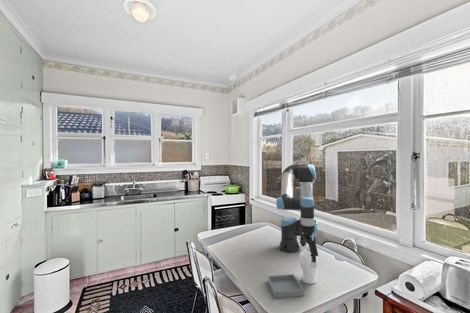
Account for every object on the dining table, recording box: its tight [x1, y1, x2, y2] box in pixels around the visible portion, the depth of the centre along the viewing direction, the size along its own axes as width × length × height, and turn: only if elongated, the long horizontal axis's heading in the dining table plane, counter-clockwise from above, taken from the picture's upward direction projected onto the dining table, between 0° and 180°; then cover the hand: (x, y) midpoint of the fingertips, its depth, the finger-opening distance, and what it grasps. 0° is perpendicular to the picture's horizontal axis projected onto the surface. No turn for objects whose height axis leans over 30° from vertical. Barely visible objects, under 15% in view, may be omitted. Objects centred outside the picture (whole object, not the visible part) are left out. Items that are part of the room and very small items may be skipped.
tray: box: [267, 273, 305, 299], centre depth 122 cm, size 15×15×3 cm
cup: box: [298, 250, 319, 285], centre depth 130 cm, size 11×11×15 cm
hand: (308, 262), depth 129 cm, fingers open, 13 cm apart
